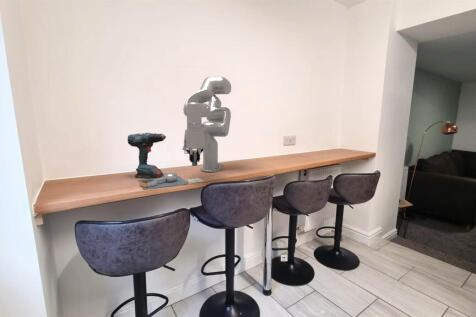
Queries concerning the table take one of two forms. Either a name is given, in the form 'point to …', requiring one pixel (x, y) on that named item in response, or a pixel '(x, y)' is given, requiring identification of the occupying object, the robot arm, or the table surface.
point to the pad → (195, 180)
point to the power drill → (145, 153)
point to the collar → (159, 180)
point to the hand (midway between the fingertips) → (194, 161)
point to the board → (166, 183)
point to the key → (194, 157)
